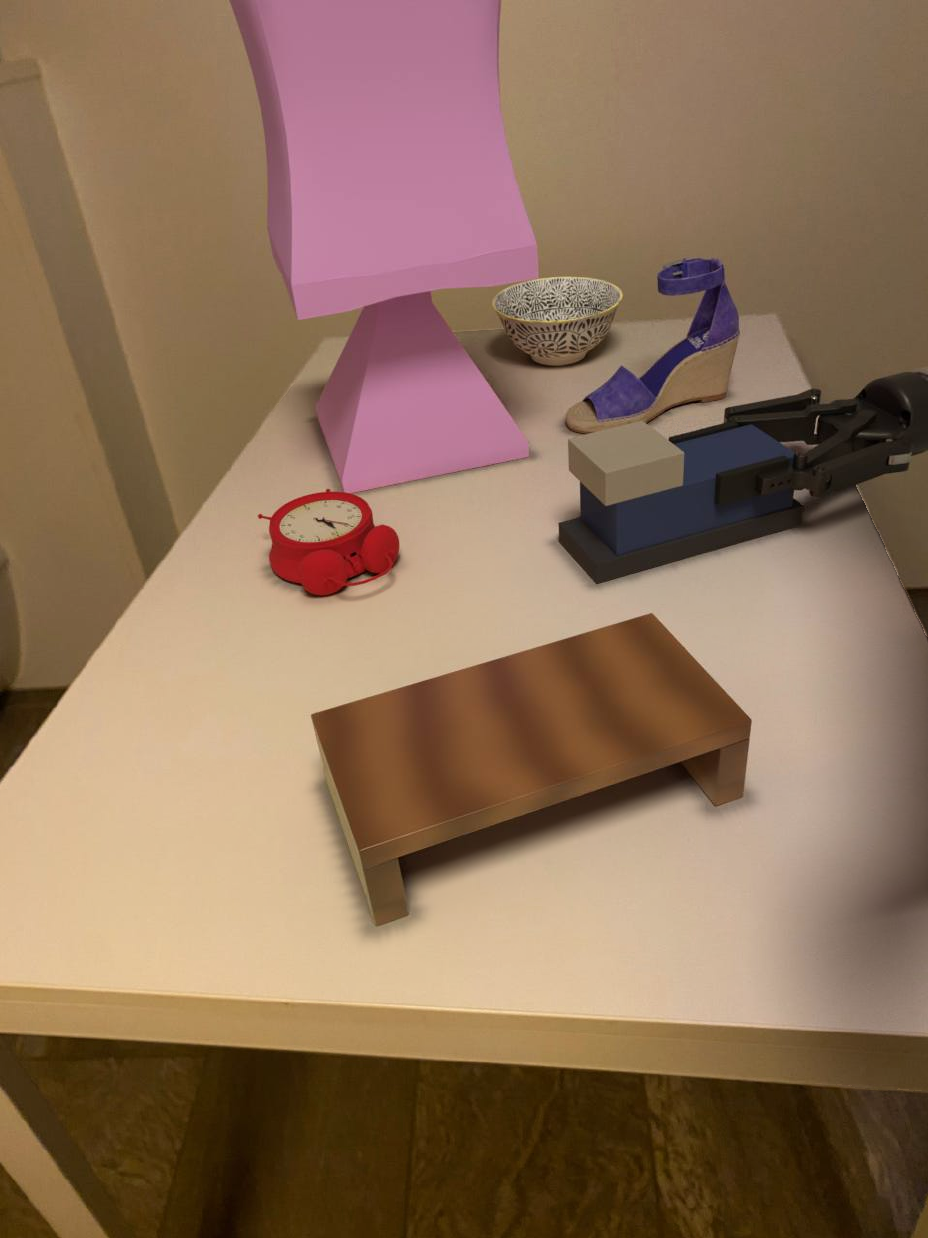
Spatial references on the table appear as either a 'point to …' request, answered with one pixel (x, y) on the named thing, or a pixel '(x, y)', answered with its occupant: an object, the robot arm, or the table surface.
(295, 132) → the pink table lamp
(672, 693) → the low wooden table
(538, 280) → the bowl
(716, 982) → the table surface
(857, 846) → the table surface
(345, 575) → the alarm clock
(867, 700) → the table surface
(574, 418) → the sandal
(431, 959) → the table surface
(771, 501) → the stacked block toy
